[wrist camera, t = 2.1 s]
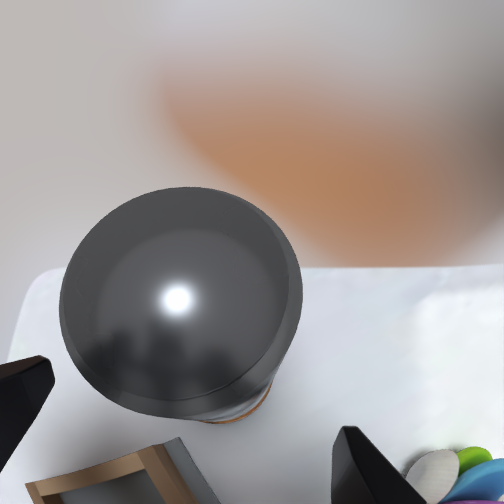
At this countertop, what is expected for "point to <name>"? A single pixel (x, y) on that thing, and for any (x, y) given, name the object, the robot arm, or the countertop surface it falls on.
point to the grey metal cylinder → (182, 305)
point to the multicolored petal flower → (459, 477)
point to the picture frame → (131, 480)
